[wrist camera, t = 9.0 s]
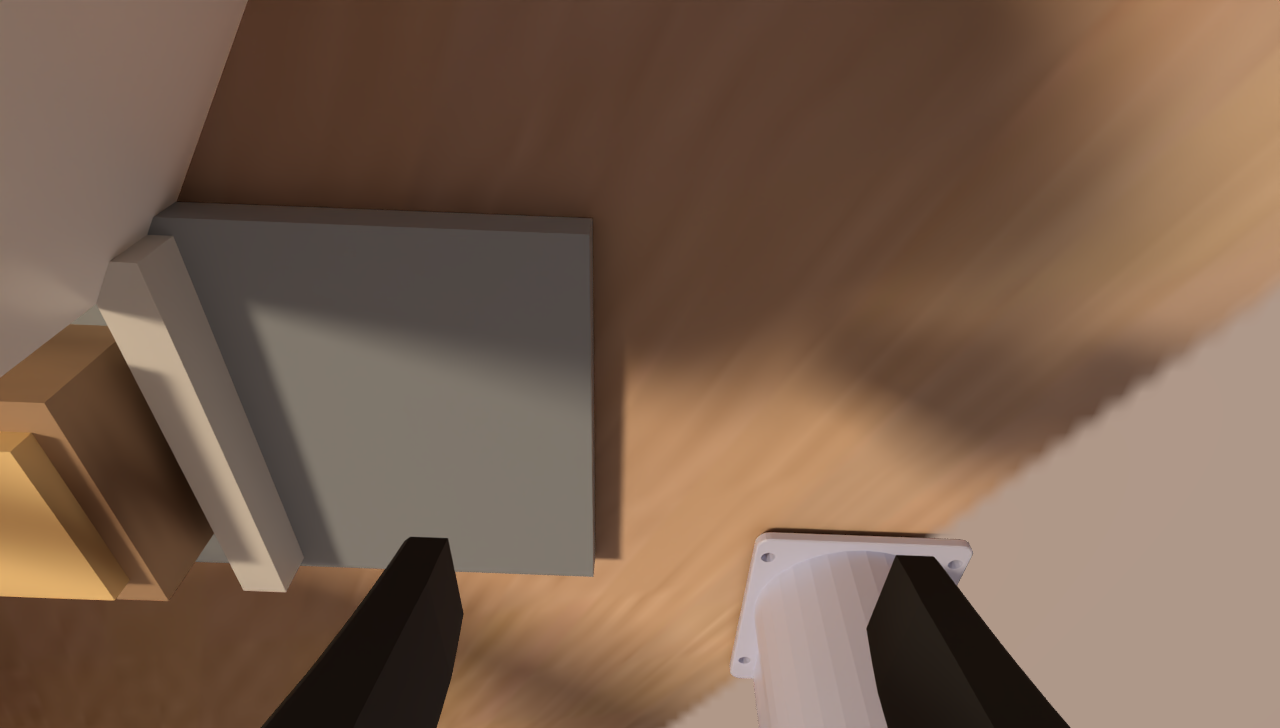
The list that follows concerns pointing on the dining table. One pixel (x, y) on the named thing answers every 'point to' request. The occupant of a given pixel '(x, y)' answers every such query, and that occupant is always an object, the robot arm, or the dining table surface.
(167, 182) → the gable box
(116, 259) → the board
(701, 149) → the dining table surface
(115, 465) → the wooden box
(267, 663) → the dining table surface
